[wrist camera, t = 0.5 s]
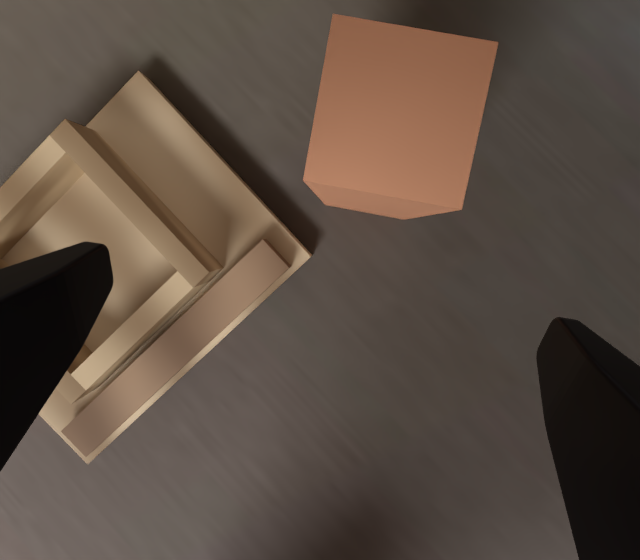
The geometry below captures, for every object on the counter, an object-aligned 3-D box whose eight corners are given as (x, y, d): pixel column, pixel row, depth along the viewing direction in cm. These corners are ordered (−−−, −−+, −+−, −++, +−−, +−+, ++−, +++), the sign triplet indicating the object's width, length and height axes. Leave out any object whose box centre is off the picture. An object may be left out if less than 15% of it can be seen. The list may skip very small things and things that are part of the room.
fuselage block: (405, 219, 24) (463, 210, 12) (324, 204, 24) (300, 180, 12) (421, 138, 23) (500, 42, 11) (339, 124, 23) (330, 13, 11)
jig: (99, 453, 26) (58, 490, 22) (-57, 293, 25) (-125, 304, 22) (312, 255, 24) (306, 260, 20) (148, 78, 24) (112, 50, 20)
